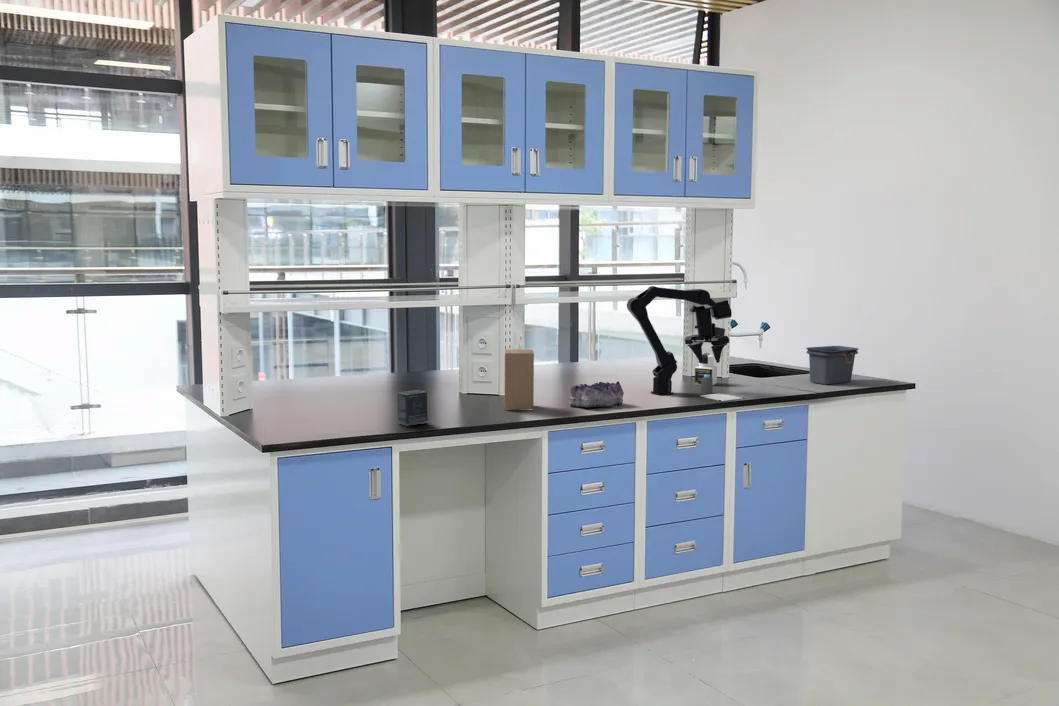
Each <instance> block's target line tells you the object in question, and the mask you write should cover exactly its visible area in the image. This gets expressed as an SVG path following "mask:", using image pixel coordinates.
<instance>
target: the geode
mask: <svg viewBox="0 0 1059 706" xmlns="http://www.w3.org/2000/svg"><path fill="white" fill-rule="evenodd" d="M569 392H570V393H571V395H570V397H569V406H570V407H577V408H587V409H588V408H596V407H597V408H599V407H602V408H612V407H614V406H617V405H619V406H623V405H624V403H623V402H624V400H623V397H624V394H625V393H624V390H623V388H622V385H621V383H620V382H619V381H616V382H615V383H614V382H611V383H610V382H603V381H599V382H594V383H593V384H590V385H589V384H586V383H584V384H583V383H579V384H578V385H577V384H576V385H573V386H571V388H570V391H569ZM622 404H623V405H622Z"/></svg>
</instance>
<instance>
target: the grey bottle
mask: <svg viewBox="0 0 1059 706" xmlns="http://www.w3.org/2000/svg"><path fill="white" fill-rule="evenodd" d="M713 386H714V385H713V378H710V375H707V374H706V375H704V378H701V385H700V394H701V395H709V394H713Z"/></svg>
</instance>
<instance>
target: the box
mask: <svg viewBox="0 0 1059 706" xmlns="http://www.w3.org/2000/svg"><path fill="white" fill-rule="evenodd" d="M397 411H398V412H397V414H398V416H397V417H398V418H397V420H398V421H400V422H403V423H407V424H409V423H416V422H424V421H428V419H429V418H428V416H429V415H428V392H427V391H425V390H421V389H414V390H408V391H400V392H397ZM428 422H429V421H428Z"/></svg>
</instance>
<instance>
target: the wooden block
mask: <svg viewBox="0 0 1059 706" xmlns="http://www.w3.org/2000/svg"><path fill="white" fill-rule="evenodd" d="M534 360H535V355H534V350H533V349H505V350H504V410H505V409H510V410H509V411H513V410H512V409H533V410H534V403H535V402H534V400H535V399H534V396H535V395H534V393H535V392H534V391H535V390H534V389H535V387H534V380H535V378H534V375H535V373H534V372H535V369H534V366H535V365H534V364H535V361H534Z"/></svg>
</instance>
